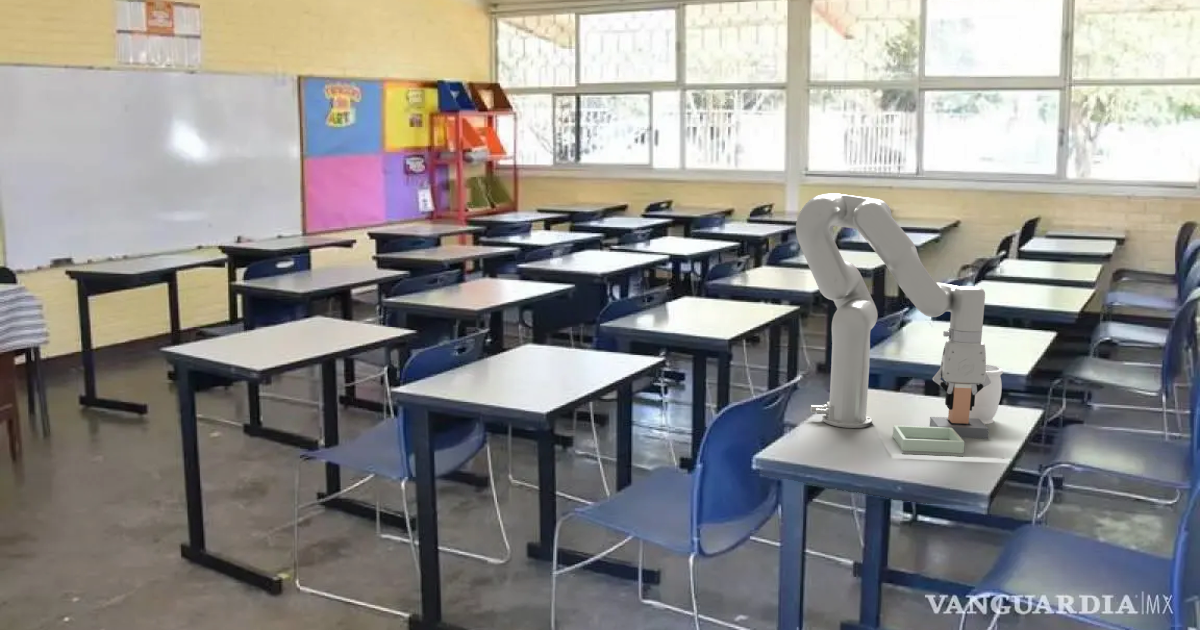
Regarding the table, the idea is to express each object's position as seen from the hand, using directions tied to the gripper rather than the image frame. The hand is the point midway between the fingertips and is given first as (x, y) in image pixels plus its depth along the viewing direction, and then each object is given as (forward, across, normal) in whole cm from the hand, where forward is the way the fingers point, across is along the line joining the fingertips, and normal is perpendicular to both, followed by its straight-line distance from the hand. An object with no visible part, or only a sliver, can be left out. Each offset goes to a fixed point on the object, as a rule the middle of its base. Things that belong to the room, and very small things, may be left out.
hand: (959, 408), depth 257 cm
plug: (+3, 0, 0) cm, 3 cm away
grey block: (+7, 0, 0) cm, 7 cm away
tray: (+7, -10, -12) cm, 17 cm away
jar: (+7, +8, +13) cm, 17 cm away
